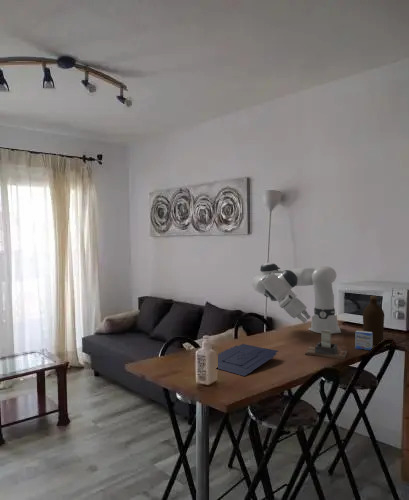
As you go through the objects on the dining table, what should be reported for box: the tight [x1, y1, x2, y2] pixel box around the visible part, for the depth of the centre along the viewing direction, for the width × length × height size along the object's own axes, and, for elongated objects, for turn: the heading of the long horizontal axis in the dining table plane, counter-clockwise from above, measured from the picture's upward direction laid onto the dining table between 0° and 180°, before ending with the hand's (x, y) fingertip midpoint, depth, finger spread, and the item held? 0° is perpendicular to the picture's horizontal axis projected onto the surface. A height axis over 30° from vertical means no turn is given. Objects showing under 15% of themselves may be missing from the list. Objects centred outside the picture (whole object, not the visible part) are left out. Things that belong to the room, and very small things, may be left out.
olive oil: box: [362, 295, 385, 346], centre depth 213 cm, size 11×11×25 cm
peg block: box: [320, 330, 332, 348], centre depth 193 cm, size 4×4×10 cm
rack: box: [304, 342, 348, 360], centre depth 193 cm, size 12×18×4 cm, turn 65°
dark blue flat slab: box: [217, 343, 279, 377], centre depth 180 cm, size 24×30×4 cm
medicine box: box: [354, 330, 374, 351], centre depth 202 cm, size 8×4×9 cm, turn 62°
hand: (307, 320), depth 196 cm, fingers open, 8 cm apart
